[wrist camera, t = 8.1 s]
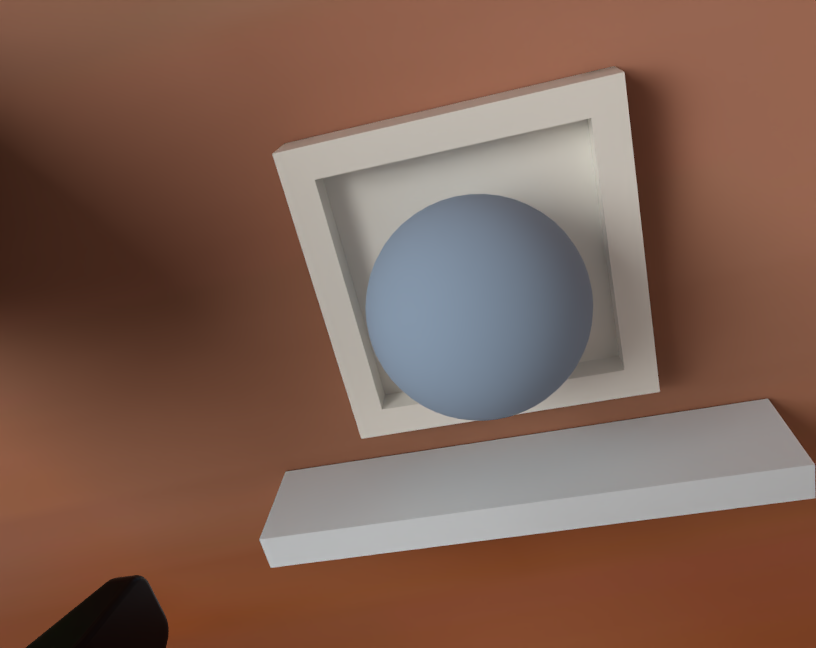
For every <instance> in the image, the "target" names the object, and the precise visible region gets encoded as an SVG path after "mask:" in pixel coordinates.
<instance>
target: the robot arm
mask: <svg viewBox="0 0 816 648" xmlns="http://www.w3.org/2000/svg"><path fill="white" fill-rule="evenodd" d="M167 640H168V623H167V619H166V616H165V614H164V612H163V610H162V608H161V606H160V604H159V602H158V600H157V598H156V596H155V594H154V592H153V590H152V589H151V587H150V585H149V583H148V581H147V580H146V579H145V578H144V577H142V576H139V575H134V576H126V577H118V578H114V579H111V580H109V581H108V582H106V583H105V584H104V585H103V586H101V587H100V588H99V589H98V590H96V591H95V592H94V593H93V594H91V595H90V596H89V597H88V598H87V599H85V600H84V601H83V602H82V603H80V604H79V605H78V606H77V607H75V608H74V609H73V610H72V611H70V612H69V613H68V614H67V615H65V616H64V617H63V618H62V619H61V620H59V621H58V622H57V623H56V624H54V625H53V626H52V627H51V628H49V629H48V630H47V631H46V632H44V633H43V634H42V635H41V636H39V637H38V638H37V639H36V640H34V641H33V642H32V643H31V644H30V645H28V646H27V647H26V648H166V645H167Z"/></svg>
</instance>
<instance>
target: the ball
mask: <svg viewBox="0 0 816 648" xmlns="http://www.w3.org/2000/svg"><path fill="white" fill-rule="evenodd" d="M365 310H366V322H367V328H368V332H369V337H370V341H371V344H372V346H373V349H374V352H375V354H376V356H377V358H378V360H379V361H380V363H381V365H382V367H383V369H384V370H385V371H386V373H387V374H388V376H389V377H390V378H391V380H392V381H393V382H394V383H395V384H396V385H397V386H398V387H399V388H400V389H401V390H402V391H403V392H404V393H406V394H407V395H408V396H409V397H410V398H412V399H413V400H415V401H416V402H418V403H419V404H421V405H422V406H424V407H426V408H428V409H430V410H432V411H434V412H437V413H440V414H442V415H445V416H449V417H453V418H457V419H464V420H494V419H501V418H505V417H510V416H513V415H516V414H519V413H522V412H524V411H526V410H528V409H530V408H532V407H534V406H536V405H538V404H539V403H541V402H542V401H544V400H545V399H547V398H548V397H549V396H550V395H552V394H553V393H554V392H555V391H556V390H557V389H558V388H559V387H560V386H561V385H562V384H563V383H564V382H565V381H566V380H567V379H568V378H569V376H570V375H571V373H572V372H573V371H574V369H575V368H576V366H577V364H578V362H579V361H580V359H581V357H582V355H583V353H584V350H585V348H586V345H587V342H588V340H589V336H590V331H591V326H592V317H593V295H592V288H591V284H590V279H589V275H588V272H587V269H586V266H585V264H584V261H583V259H582V257H581V255H580V253H579V252H578V250H577V248H576V246H575V245H574V244H573V242H572V241H571V240H570V238H569V237H568V236H567V234H566V233H565V232H564V231H563V230H562V229H561V228H560V227H559V226H558V225H557V224H556V223H555V222H554V221H553V220H552V219H550V218H549V217H547V216H546V215H545V214H543V213H542V212H540V211H538V210H537V209H535V208H533V207H531V206H529V205H527V204H525V203H523V202H520V201H517V200H515V199H512V198H507V197H503V196H499V195H490V194H468V195H461V196H455V197H451V198H448V199H444V200H441V201H439V202H436V203H434V204H432V205H429V206H427V207H426V208H424V209H422V210H421V211H419V212H417V213H416V214H414V215H413V216H412V217H410V218H409V219H408V220H407V221H405V222H404V223H403V224H402V225H401V226H400V227H399V228H398V229H397V230H396V231H395V232H394V233H393V234H392V235H391V237H390V238H389V239H388V241H387V242H386V243H385V245H384V246H383V248H382V250H381V252H380V254H379V256H378V257H377V259H376V261H375V263H374V266H373V269H372V271H371V274H370V278H369V282H368V287H367V293H366V306H365Z"/></svg>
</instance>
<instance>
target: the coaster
mask: <svg viewBox="0 0 816 648" xmlns="http://www.w3.org/2000/svg"><path fill="white" fill-rule="evenodd" d="M272 155H273V158H274V161H275V164H276V168H277V171H278V174H279V177H280V180H281V184H282V187H283V190H284V193H285V196H286V200H287V203H288V206H289V209H290V212H291V216H292V219H293V222H294V225H295V228H296V232H297V235H298V238H299V241H300V244H301V247H302V251H303V254H304V257H305V260H306V263H307V267H308V270H309V273H310V276H311V279H312V283H313V286H314V289H315V292H316V295H317V299H318V302H319V305H320V308H321V311H322V315H323V318H324V321H325V324H326V327H327V331H328V334H329V337H330V340H331V343H332V347H333V350H334V353H335V356H336V359H337V363H338V366H339V369H340V372H341V375H342V379H343V382H344V385H345V388H346V391H347V394H348V398H349V401H350V404H351V407H352V410H353V414H354V417H355V420H356V423H357V426H358V430H359V433H360V436H361V439H363V438H369V437H375V436H382V435H388V434H395V433H401V432H407V431H414V430H420V429H426V428H433V427H439V426H446V425H452V424H458V423H465V422H471V421H477V420H464V419H457V418H453V417H449V416H445V415H442V414H440V413H437V412H434V411H432V410H430V409H428V408H426V407H424V406H422V405H421V404H419V403H418V402H416V401H415V400H413V399H412V398H410V397H409V396H408V395H407V394H406V393H404V392H403V391H402V390H401V389H400V388H399V387H398V386H397V385H396V384H395V383H394V382H393V381H392V380H391V378H390V377H389V376H388V374H387V373H386V371H385V370H384V369H383V367H382V365H381V363H380V361H379V360H378V358H377V356H376V354H375V352H374V349H373V346H372V344H371V341H370V337H369V332H368V328H367V322H366V310H365V306H366V293H367V287H368V282H369V278H370V274H371V271H372V269H373V266H374V263H375V261H376V259H377V257H378V256H379V254H380V252H381V250H382V248H383V246H384V245H385V243H386V242H387V241H388V239H389V238H390V237H391V235H392V234H393V233H394V232H395V231H396V230H397V229H398V228H399V227H400V226H401V225H402V224H403V223H404V222H405V221H407V220H408V219H409V218H410V217H412V216H413V215H414V214H416V213H417V212H419V211H421V210H422V209H424V208H426V207H427V206H429V205H432V204H434V203H436V202H439V201H441V200H444V199H448V198H451V197H455V196H461V195H468V194H490V195H499V196H503V197H507V198H512V199H515V200H517V201H520V202H523V203H525V204H527V205H529V206H531V207H533V208H535V209H537V210H538V211H540V212H542V213H543V214H545V215H546V216H547V217H549V218H550V219H552V220H553V221H554V222H555V223H556V224H557V225H558V226H559V227H560V228H561V229H562V230H563V231H564V232H565V233H566V234H567V236H568V237H569V238H570V240H571V241H572V242H573V244H574V245H575V246H576V248H577V250H578V252H579V253H580V255H581V257H582V259H583V261H584V264H585V266H586V269H587V272H588V275H589V279H590V284H591V288H592V295H593V317H592V326H591V331H590V336H589V340H588V342H587V345H586V348H585V350H584V353H583V355H582V357H581V359H580V361H579V362H578V364H577V366H576V368H575V369H574V371H573V372H572V373H571V375H570V376H569V378H568V379H567V380H566V381H565V382H564V383H563V384H562V385H561V386H560V387H559V388H558V389H557V390H556V391H555V392H554V393H553V394H552V395H550V396H549V397H548V398H547V399H545V400H544V401H542V402H541V403H539V404H538V405H536V406H534V407H532V408H530V409H528V410H526V411H524V412H522V413H528V412H535V411H541V410H547V409H554V408H560V407H567V406H573V405H579V404H586V403H592V402H598V401H605V400H611V399H618V398H624V397H630V396H637V395H643V394H649V393H656V392H660V388H659V379H658V370H657V361H656V352H655V343H654V334H653V325H652V316H651V307H650V298H649V289H648V280H647V271H646V262H645V253H644V244H643V235H642V226H641V217H640V208H639V199H638V190H637V181H636V172H635V163H634V154H633V145H632V136H631V127H630V118H629V109H628V100H627V91H626V82H625V73H624V71H622V70H620V69H619V68H617V67H615V66H613V67H609V68H604V69H600V70H596V71H592V72H587V73H583V74H579V75H575V76H570V77H566V78H562V79H558V80H553V81H549V82H545V83H541V84H536V85H532V86H528V87H523V88H519V89H515V90H511V91H506V92H502V93H498V94H494V95H489V96H485V97H481V98H477V99H472V100H468V101H464V102H459V103H455V104H451V105H447V106H442V107H438V108H434V109H430V110H425V111H421V112H417V113H413V114H408V115H404V116H400V117H396V118H391V119H387V120H383V121H378V122H374V123H370V124H366V125H361V126H357V127H353V128H349V129H344V130H340V131H336V132H332V133H327V134H323V135H319V136H315V137H310V138H306V139H302V140H297V141H293V142H289V143H285V144H283V145H282V146H281V147H280V148H279V149H277V150H276V151H275V152H274V153H273V154H272ZM522 413H519V414H522Z"/></svg>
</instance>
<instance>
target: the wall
mask: <svg viewBox="0 0 816 648" xmlns="http://www.w3.org/2000/svg"><path fill="white" fill-rule="evenodd" d="M812 498H815V464H814V462H813V461H812V460H811V458H810V457H809V455H808V454H807V452H806V451H805V450H804V448H803V447H802V445H801V444H800V443H799V441H798V440H797V438H796V437H795V436H794V434H793V433H792V431H791V430H790V429H789V427H788V426H787V424H786V423H785V422H784V420H783V419H782V417H781V416H780V415H779V413H778V412H777V410H776V409H775V408H774V406H773V405H772V403H771V402H770V401H769V399H762V400H755V401H749V402H742V403H735V404H729V405H722V406H716V407H709V408H702V409H696V410H689V411H683V412H676V413H669V414H663V415H656V416H650V417H643V418H636V419H630V420H623V421H617V422H610V423H603V424H597V425H590V426H584V427H577V428H570V429H564V430H557V431H551V432H544V433H537V434H531V435H524V436H518V437H511V438H504V439H498V440H491V441H485V442H478V443H471V444H465V445H458V446H452V447H445V448H438V449H432V450H425V451H419V452H412V453H406V454H399V455H392V456H386V457H379V458H373V459H366V460H359V461H353V462H346V463H340V464H333V465H326V466H320V467H313V468H307V469H300V470H293V471H287V472H285V474H284V477H283V480H282V482H281V485H280V487H279V490H278V493H277V495H276V498H275V500H274V503H273V506H272V508H271V511H270V513H269V516H268V518H267V521H266V524H265V526H264V529H263V531H262V534H261V537H260V539H259V540H260V542H261V545H262V547H263V550H264V552H265V555H266V557H267V560H268V562H269V565H270V567H271V568H273V567H280V566H288V565H296V564H304V563H312V562H319V561H327V560H335V559H343V558H351V557H359V556H366V555H374V554H382V553H390V552H398V551H406V550H413V549H421V548H429V547H437V546H445V545H453V544H460V543H468V542H476V541H484V540H492V539H499V538H507V537H515V536H523V535H531V534H539V533H546V532H554V531H562V530H570V529H578V528H586V527H593V526H601V525H609V524H617V523H625V522H632V521H640V520H648V519H656V518H664V517H672V516H679V515H687V514H695V513H703V512H711V511H719V510H726V509H734V508H742V507H750V506H758V505H766V504H773V503H781V502H789V501H797V500H805V499H812Z"/></svg>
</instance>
